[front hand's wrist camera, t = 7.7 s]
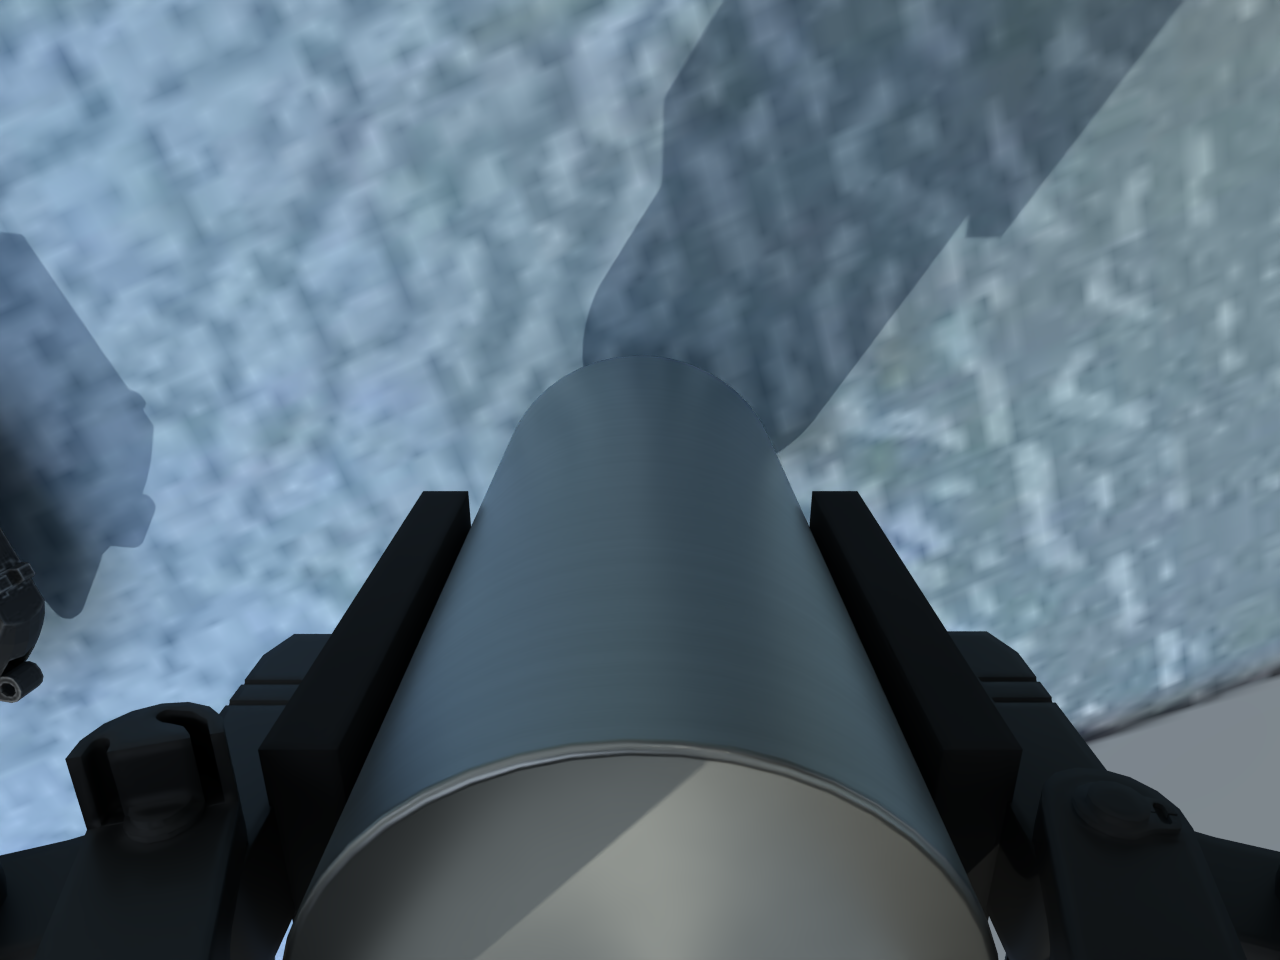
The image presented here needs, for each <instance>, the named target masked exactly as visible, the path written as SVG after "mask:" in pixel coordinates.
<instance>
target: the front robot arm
mask: <svg viewBox="0 0 1280 960" xmlns="http://www.w3.org/2000/svg"><path fill="white" fill-rule="evenodd" d="M470 528H471V521H470V508H469V496H468V491H423V492H422V494H421V496H420V497H419V499H418V500H417V502H416V503H415V505H414V506H413V508H412V510H411V511H410V513H409V514H408V516H407V517H406V519H405V521H404V522H403V524H402V525H401V527H400V528H399V530H398V531H397V533H396V535H395V536H394V538H393V539H392V541H391V542H390V544H389V545H388V547H387V549H386V550H385V552H384V553H383V555H382V556H381V558H380V560H379V561H378V563H377V564H376V566H375V567H374V569H373V570H372V572H371V574H370V575H369V577H368V578H367V580H366V581H365V583H364V585H363V586H362V588H361V589H360V591H359V592H358V594H357V595H356V597H355V599H354V600H353V602H352V603H351V605H350V606H349V608H348V609H347V611H346V613H345V614H344V616H343V617H342V619H341V620H340V622H339V624H338V625H337V627H336V628H335V630H334V631H333V633H332V634H294V635H292V636H291V637H289V638H288V639H286V640H285V641H283V642H282V643H280V644H279V645H278V646H276V647H275V648H273V649H272V650H270V651H269V652H267V653H266V654H264V655H263V656H262V658H261V659H260V660H259V662H258V663H257V664H256V666H255V667H254V668H253V670H252V671H251V672H250V674H249V675H248V676H247V678H246V679H245V684H244V685H241V686H240V687H239V688H238V690H237V691H236V692H235V694H234V695H233V696H232V698H231V699H230V703H229V705H226V706H225V707H224V708H223V710H222V711H221V712H220V714H218V713H217V712H216V711H214V710H213V709H212V708H211V707H209V706H205V705H200V704H195V703H191V702H181V703H164V704H158V705H154V706H151V707H147V708H143V709H139V710H135V711H132V712H129V713H127V714H125V715H123V716H120V717H118V718H116V719H114V720H111V721H109V722H107V723H105V724H103V725H102V726H100V727H99V728H97V729H96V730H94V731H93V732H92V733H90V734H89V735H87V736H86V737H85V738H83V739H82V740H80V741H79V743H78V744H77V745H76V746H75V748H74V749H73V750H72V751H71V753H70V754H69V755H68V756H67V758H66V759H65V760H66V763H67V766H68V769H69V773H70V776H71V779H72V782H73V786H74V789H75V792H76V795H77V799H78V802H79V805H80V808H81V812H82V815H83V818H84V821H85V825H86V828H87V831H86V834H85V835H84V836H81V837H77V838H74V839H71V840H67V841H63V842H58V843H54V844H49V845H45V846H41V847H36V848H32V849H27V850H23V851H18V852H14V853H10V854H5V855H1V856H0V960H275V955H276V953H277V951H278V949H279V946H280V944H281V942H282V940H283V938H284V935H285V933H286V931H287V929H288V927H289V924H290V922H291V920H293V922H294V919H295V917H296V915H297V912H298V910H299V907H300V905H301V902H302V900H303V898H304V896H305V894H306V891H307V889H308V887H309V885H310V882H311V880H312V878H313V876H314V874H315V871H316V869H317V867H318V865H319V863H320V860H321V858H322V856H323V854H324V851H325V849H326V847H327V845H328V843H329V840H330V838H331V836H332V834H333V832H334V829H335V827H336V825H337V823H338V820H339V818H340V816H341V814H342V812H343V809H344V807H345V805H346V803H347V801H348V798H349V796H350V794H351V792H352V789H353V787H354V785H355V783H356V781H357V778H358V776H359V774H360V772H361V770H362V767H363V765H364V763H365V761H366V759H367V756H368V754H369V752H370V750H371V747H372V745H373V743H374V741H375V739H376V736H377V734H378V732H379V730H380V728H381V725H382V723H383V721H384V719H385V716H386V714H387V712H388V710H389V708H390V705H391V703H392V701H393V699H394V697H395V694H396V692H397V690H398V688H399V685H400V683H401V681H402V679H403V677H404V674H405V672H406V670H407V668H408V666H409V663H410V661H411V659H412V657H413V654H414V652H415V650H416V648H417V646H418V643H419V641H420V639H421V637H422V635H423V632H424V630H425V628H426V626H427V623H428V621H429V619H430V617H431V615H432V612H433V610H434V608H435V606H436V604H437V601H438V599H439V597H440V595H441V592H442V590H443V588H444V586H445V584H446V581H447V579H448V577H449V575H450V573H451V570H452V568H453V566H454V564H455V561H456V559H457V557H458V555H459V553H460V550H461V548H462V546H463V544H464V542H465V539H466V537H467V535H468V533H469V530H470ZM810 530H811V532H812V534H813V536H814V538H815V541H816V543H817V545H818V547H819V550H820V552H821V554H822V556H823V558H824V561H825V563H826V565H827V567H828V569H829V572H830V574H831V576H832V578H833V580H834V583H835V585H836V587H837V589H838V591H839V594H840V596H841V598H842V600H843V602H844V605H845V607H846V609H847V611H848V614H849V616H850V618H851V620H852V622H853V625H854V627H855V629H856V631H857V633H858V636H859V638H860V640H861V642H862V644H863V647H864V649H865V651H866V653H867V655H868V658H869V660H870V662H871V664H872V667H873V669H874V671H875V673H876V675H877V678H878V680H879V682H880V684H881V686H882V689H883V691H884V693H885V695H886V697H887V700H888V702H889V704H890V706H891V708H892V711H893V713H894V715H895V717H896V719H897V722H898V724H899V726H900V728H901V731H902V733H903V735H904V737H905V739H906V742H907V744H908V746H909V748H910V750H911V753H912V755H913V757H914V759H915V761H916V764H917V766H918V768H919V770H920V772H921V775H922V777H923V779H924V781H925V784H926V786H927V788H928V790H929V792H930V795H931V797H932V799H933V801H934V803H935V806H936V808H937V810H938V812H939V814H940V817H941V819H942V821H943V823H944V825H945V828H946V830H947V832H948V834H949V836H950V839H951V841H952V843H953V845H954V848H955V850H956V852H957V854H958V856H959V859H960V861H961V863H962V865H963V867H964V870H965V872H966V874H967V876H968V878H969V881H970V883H971V885H972V887H973V889H974V892H975V894H976V896H977V898H978V901H979V903H980V905H981V907H982V909H983V912H984V914H985V916H986V918H987V921H988V918H989V917H990V919H991V921H992V923H993V926H994V928H995V930H996V932H997V934H998V937H999V939H1000V941H1001V943H1002V945H1003V947H1004V950H1005V952H1006V956H1005V960H1280V852H1278V851H1274V850H1269V849H1265V848H1260V847H1256V846H1251V845H1247V844H1242V843H1238V842H1234V841H1229V840H1225V839H1220V838H1215V837H1212V836H1209V835H1205V834H1202V833H1198V832H1195V831H1194V830H1193V828H1192V826H1191V825H1190V824H1189V822H1188V821H1187V819H1186V818H1185V816H1184V815H1183V813H1182V812H1181V810H1180V809H1179V808H1178V807H1176V806H1175V805H1174V804H1173V803H1171V802H1170V801H1169V800H1168V799H1166V798H1165V797H1164V796H1163V795H1161V794H1160V793H1159V792H1158V791H1156V790H1154V789H1152V788H1150V787H1148V786H1146V785H1144V784H1142V783H1140V782H1138V781H1136V780H1134V779H1132V778H1131V777H1127V776H1124V775H1120V774H1117V773H1113V772H1110V771H1107V770H1106V769H1105V767H1104V766H1103V765H1102V763H1101V762H1100V761H1099V759H1098V758H1097V757H1096V755H1095V754H1094V753H1093V751H1092V750H1091V749H1090V747H1089V746H1088V745H1087V744H1086V742H1085V741H1084V740H1083V738H1082V737H1081V736H1080V734H1079V733H1078V732H1077V730H1076V729H1075V728H1074V726H1073V725H1072V724H1071V722H1070V721H1069V720H1068V718H1067V717H1066V716H1065V714H1064V713H1063V712H1062V710H1061V709H1060V708H1059V706H1058V705H1057V704H1056V703H1052V697H1051V696H1050V695H1049V693H1048V692H1047V691H1046V689H1045V688H1044V687H1043V685H1042V684H1041V683H1040V682H1037V681H1036V676H1035V675H1034V673H1033V672H1032V671H1031V669H1030V668H1029V667H1028V665H1027V664H1026V663H1025V661H1024V660H1023V659H1022V657H1021V656H1020V655H1019V653H1018V652H1016V651H1015V650H1013V649H1012V648H1010V647H1009V646H1007V645H1006V644H1004V643H1003V642H1002V641H1000V640H999V639H997V638H996V637H994V636H993V635H991V634H990V633H988V632H987V631H947V630H946V629H945V627H944V626H943V624H942V623H941V621H940V620H939V618H938V616H937V615H936V613H935V612H934V610H933V609H932V607H931V605H930V604H929V602H928V601H927V599H926V598H925V596H924V595H923V593H922V591H921V590H920V588H919V587H918V585H917V584H916V582H915V581H914V579H913V577H912V576H911V574H910V573H909V571H908V570H907V568H906V566H905V565H904V563H903V562H902V560H901V559H900V557H899V556H898V554H897V552H896V551H895V549H894V548H893V546H892V545H891V543H890V542H889V540H888V538H887V537H886V535H885V534H884V532H883V531H882V529H881V527H880V526H879V524H878V523H877V521H876V520H875V518H874V517H873V515H872V513H871V512H870V510H869V509H868V507H867V506H866V504H865V502H864V501H863V499H862V498H861V496H860V495H859V493H858V492H857V491H812V502H811V515H810Z"/></svg>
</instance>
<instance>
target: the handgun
mask: <svg viewBox="0 0 1280 960" xmlns="http://www.w3.org/2000/svg"><path fill="white" fill-rule="evenodd" d="M35 574H36V573H35V572H34V570H33V568H32V567H31V565H30V564H29V563H27V562H21V561H20V559H19V558H18V556H17V554H16V553H15V551H14V549H13V548H12V546H11V544H10V543H9V541H8V539H7V538H6V536H5V535H4V533H3V531H2V530H1V528H0V701H4V702H10V703H13V702H17V701H18V700H20V699H21V698H23V697H24V696H25V695H27V694H28V693H30V692H31V691H32V690H34V689H35V688H37V687H38V686H39V685H40V684H41V683H42V682H43V674H42V672H41V669H40V668H39V667H38V666H37V664H35V663H33V662H30V661H26V660H27V659H28V657H29V655H30V654H31V652H32V650H33V648H34V646H35V644H36V642H37V640H38V637H39V635H40V632H41V628H42V625H43V621H44V615H45V601H44V599H43V597H42V595H41V594H40V592H39V590H38V589H37V587H36V585H35V584H34V582H33V580H32V579H31V578H32V577H33V576H34V575H35Z"/></svg>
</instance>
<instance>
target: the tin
mask: <svg viewBox="0 0 1280 960" xmlns="http://www.w3.org/2000/svg"><path fill="white" fill-rule="evenodd" d="M283 960H998V953H997V950H996V947H995V943H994V940H993V937H992V934H991V930H990V927H989V924H988V921H987V918H986V916H985V914H984V912H983V909H982V907H981V905H980V903H979V901H978V898H977V896H976V894H975V892H974V889H973V887H972V885H971V883H970V881H969V878H968V876H967V874H966V872H965V870H964V867H963V865H962V863H961V861H960V859H959V856H958V854H957V852H956V850H955V848H954V845H953V843H952V841H951V839H950V836H949V834H948V832H947V830H946V828H945V825H944V823H943V821H942V819H941V817H940V814H939V812H938V810H937V808H936V806H935V803H934V801H933V799H932V797H931V795H930V792H929V790H928V788H927V786H926V784H925V781H924V779H923V777H922V775H921V772H920V770H919V768H918V766H917V764H916V761H915V759H914V757H913V755H912V753H911V750H910V748H909V746H908V744H907V742H906V739H905V737H904V735H903V733H902V731H901V728H900V726H899V724H898V722H897V719H896V717H895V715H894V713H893V711H892V708H891V706H890V704H889V702H888V700H887V697H886V695H885V693H884V691H883V689H882V686H881V684H880V682H879V680H878V678H877V675H876V673H875V671H874V669H873V667H872V664H871V662H870V660H869V658H868V655H867V653H866V651H865V649H864V647H863V644H862V642H861V640H860V638H859V636H858V633H857V631H856V629H855V627H854V625H853V622H852V620H851V618H850V616H849V614H848V611H847V609H846V607H845V605H844V602H843V600H842V598H841V596H840V594H839V591H838V589H837V587H836V585H835V583H834V580H833V578H832V576H831V574H830V572H829V569H828V567H827V565H826V563H825V561H824V558H823V556H822V554H821V552H820V550H819V547H818V545H817V543H816V541H815V538H814V536H813V534H812V532H811V530H810V527H809V525H808V523H807V521H806V519H805V516H804V514H803V512H802V510H801V508H800V505H799V503H798V501H797V499H796V497H795V494H794V492H793V490H792V488H791V485H790V483H789V481H788V479H787V477H786V474H785V472H784V470H783V468H782V466H781V463H780V461H779V459H778V457H777V455H776V452H775V450H774V448H773V446H772V444H771V441H770V439H769V437H768V435H767V433H766V431H765V429H764V427H763V425H762V423H761V421H760V420H759V418H758V417H757V415H756V414H755V413H754V411H753V410H752V408H751V407H750V406H749V405H748V404H747V402H746V401H745V400H744V399H743V398H742V397H741V396H740V395H739V394H738V393H737V392H736V391H734V390H733V389H732V388H731V387H730V386H728V385H727V384H726V383H725V382H723V381H722V380H720V379H718V378H717V377H715V376H714V375H712V374H710V373H709V372H707V371H704V370H702V369H700V368H698V367H695V366H693V365H691V364H688V363H684V362H681V361H677V360H674V359H669V358H663V357H656V356H626V357H616V358H611V359H607V360H603V361H599V362H595V363H593V364H590V365H587V366H585V367H582V368H580V369H578V370H576V371H574V372H572V373H570V374H568V375H566V376H565V377H563V378H561V379H560V380H559V381H557V382H556V383H555V384H553V385H552V386H550V387H549V388H548V389H547V390H546V391H545V392H544V393H543V394H541V395H540V396H539V397H538V398H537V399H536V400H535V401H534V403H533V404H532V405H531V406H530V408H529V409H528V410H527V411H526V413H525V414H524V415H523V417H522V419H521V420H520V422H519V424H518V425H517V427H516V429H515V431H514V433H513V435H512V438H511V440H510V442H509V444H508V446H507V449H506V451H505V453H504V455H503V457H502V460H501V462H500V464H499V466H498V469H497V471H496V473H495V475H494V477H493V480H492V482H491V484H490V486H489V488H488V491H487V493H486V495H485V497H484V500H483V502H482V504H481V506H480V508H479V511H478V513H477V515H476V517H475V519H474V522H473V524H472V526H471V528H470V530H469V533H468V535H467V537H466V539H465V542H464V544H463V546H462V548H461V550H460V553H459V555H458V557H457V559H456V561H455V564H454V566H453V568H452V570H451V573H450V575H449V577H448V579H447V581H446V584H445V586H444V588H443V590H442V592H441V595H440V597H439V599H438V601H437V604H436V606H435V608H434V610H433V612H432V615H431V617H430V619H429V621H428V623H427V626H426V628H425V630H424V632H423V635H422V637H421V639H420V641H419V643H418V646H417V648H416V650H415V652H414V654H413V657H412V659H411V661H410V663H409V666H408V668H407V670H406V672H405V674H404V677H403V679H402V681H401V683H400V685H399V688H398V690H397V692H396V694H395V697H394V699H393V701H392V703H391V705H390V708H389V710H388V712H387V714H386V716H385V719H384V721H383V723H382V725H381V728H380V730H379V732H378V734H377V736H376V739H375V741H374V743H373V745H372V747H371V750H370V752H369V754H368V756H367V759H366V761H365V763H364V765H363V767H362V770H361V772H360V774H359V776H358V778H357V781H356V783H355V785H354V787H353V789H352V792H351V794H350V796H349V798H348V801H347V803H346V805H345V807H344V809H343V812H342V814H341V816H340V818H339V820H338V823H337V825H336V827H335V829H334V832H333V834H332V836H331V838H330V840H329V843H328V845H327V847H326V849H325V851H324V854H323V856H322V858H321V860H320V863H319V865H318V867H317V869H316V871H315V874H314V876H313V878H312V880H311V882H310V885H309V887H308V889H307V891H306V894H305V896H304V898H303V900H302V902H301V905H300V907H299V910H298V912H297V915H296V917H295V919H294V922H293V924H292V927H291V929H290V932H289V934H288V937H287V940H286V945H285V950H284V955H283Z"/></svg>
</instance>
